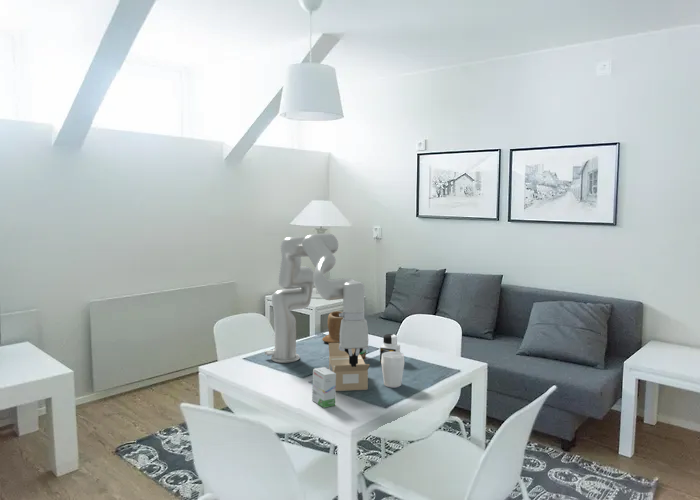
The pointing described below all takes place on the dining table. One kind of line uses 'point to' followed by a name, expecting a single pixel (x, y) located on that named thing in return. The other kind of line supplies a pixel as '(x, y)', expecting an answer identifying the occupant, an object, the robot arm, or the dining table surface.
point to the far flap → (337, 350)
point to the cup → (392, 368)
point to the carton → (348, 374)
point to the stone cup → (333, 327)
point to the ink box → (324, 387)
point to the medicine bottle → (389, 344)
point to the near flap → (349, 368)
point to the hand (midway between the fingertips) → (353, 365)
